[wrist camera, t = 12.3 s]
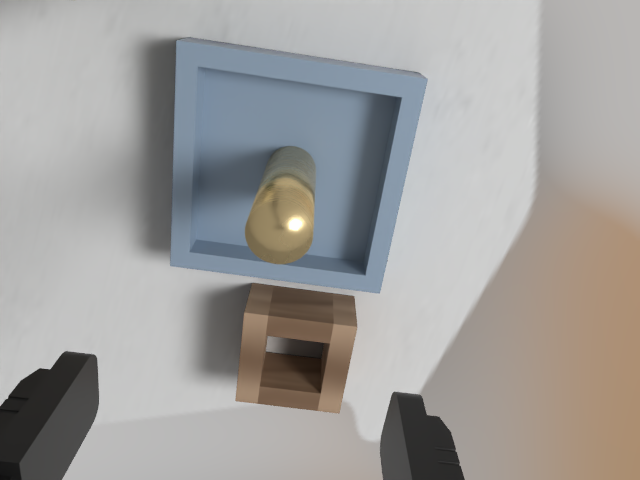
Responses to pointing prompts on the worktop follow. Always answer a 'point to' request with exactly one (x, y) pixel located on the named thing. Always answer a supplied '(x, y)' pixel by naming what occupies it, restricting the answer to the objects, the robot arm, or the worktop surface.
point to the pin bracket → (288, 370)
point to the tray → (289, 130)
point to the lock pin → (283, 208)
